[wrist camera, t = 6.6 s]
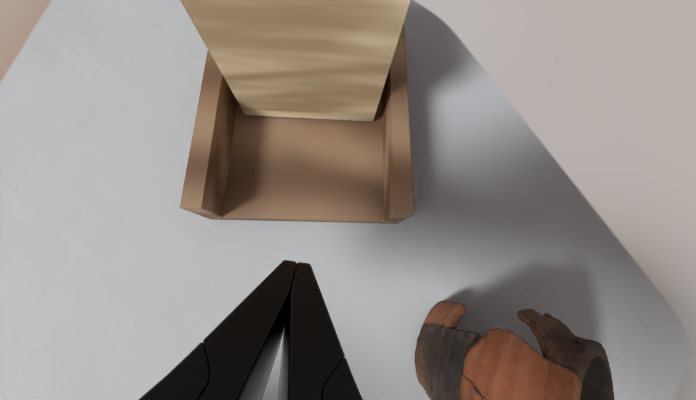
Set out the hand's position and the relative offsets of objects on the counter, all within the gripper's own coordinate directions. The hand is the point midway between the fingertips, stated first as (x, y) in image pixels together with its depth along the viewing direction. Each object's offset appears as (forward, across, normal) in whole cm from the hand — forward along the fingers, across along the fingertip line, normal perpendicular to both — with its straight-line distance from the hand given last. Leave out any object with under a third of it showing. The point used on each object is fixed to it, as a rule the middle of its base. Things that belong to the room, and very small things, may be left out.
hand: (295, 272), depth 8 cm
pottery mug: (+4, -13, +11) cm, 17 cm away
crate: (+17, +2, -5) cm, 18 cm away
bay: (+15, +1, -2) cm, 16 cm away
